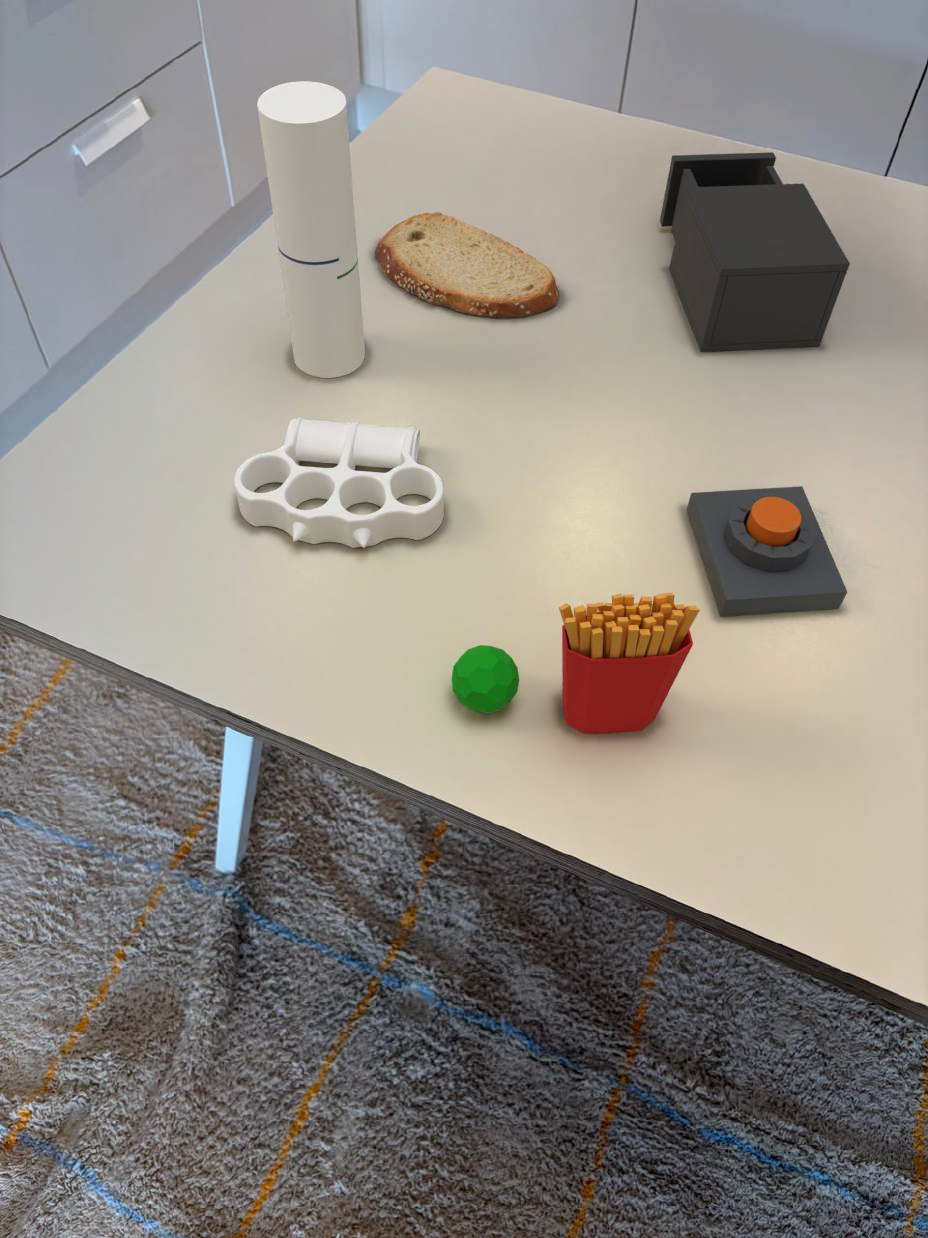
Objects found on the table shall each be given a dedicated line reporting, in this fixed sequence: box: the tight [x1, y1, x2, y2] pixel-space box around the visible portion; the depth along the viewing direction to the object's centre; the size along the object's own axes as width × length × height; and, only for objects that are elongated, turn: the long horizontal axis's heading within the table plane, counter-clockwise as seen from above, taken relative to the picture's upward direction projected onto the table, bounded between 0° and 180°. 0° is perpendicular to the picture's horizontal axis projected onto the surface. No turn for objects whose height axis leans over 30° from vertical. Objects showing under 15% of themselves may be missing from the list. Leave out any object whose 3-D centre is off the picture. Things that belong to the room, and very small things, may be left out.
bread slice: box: [374, 211, 561, 319], centre depth 108 cm, size 18×18×4 cm
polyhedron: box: [451, 644, 520, 714], centre depth 74 cm, size 5×5×5 cm
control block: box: [686, 485, 848, 617], centre depth 83 cm, size 12×10×4 cm
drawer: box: [659, 151, 784, 240], centre depth 109 cm, size 18×11×8 cm, turn 6°
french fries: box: [558, 592, 701, 735], centre depth 70 cm, size 9×4×13 cm, turn 94°
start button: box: [747, 497, 801, 546], centre depth 81 cm, size 4×4×2 cm
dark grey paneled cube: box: [668, 183, 851, 353], centre depth 103 cm, size 15×13×10 cm
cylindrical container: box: [256, 80, 366, 379], centre depth 90 cm, size 7×7×25 cm
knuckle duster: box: [233, 416, 445, 549], centre depth 87 cm, size 3×18×15 cm
